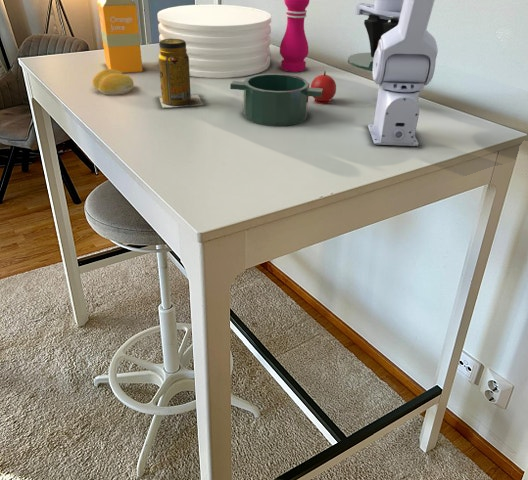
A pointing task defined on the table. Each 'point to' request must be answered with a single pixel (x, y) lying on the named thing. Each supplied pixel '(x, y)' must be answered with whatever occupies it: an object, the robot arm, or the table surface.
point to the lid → (362, 60)
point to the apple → (324, 88)
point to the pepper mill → (294, 37)
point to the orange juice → (120, 35)
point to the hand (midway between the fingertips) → (381, 57)
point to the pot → (276, 98)
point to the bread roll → (112, 82)
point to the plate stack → (220, 38)
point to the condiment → (175, 75)
